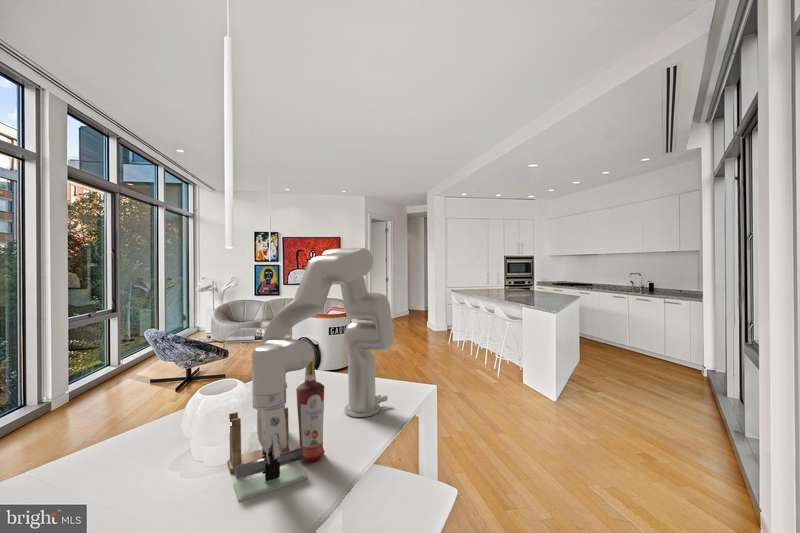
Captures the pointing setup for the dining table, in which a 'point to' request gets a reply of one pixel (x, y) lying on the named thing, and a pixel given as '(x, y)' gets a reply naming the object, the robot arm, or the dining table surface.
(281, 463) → the rail
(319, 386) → the liquor
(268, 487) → the mat
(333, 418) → the dining table surface
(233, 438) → the hook stand
